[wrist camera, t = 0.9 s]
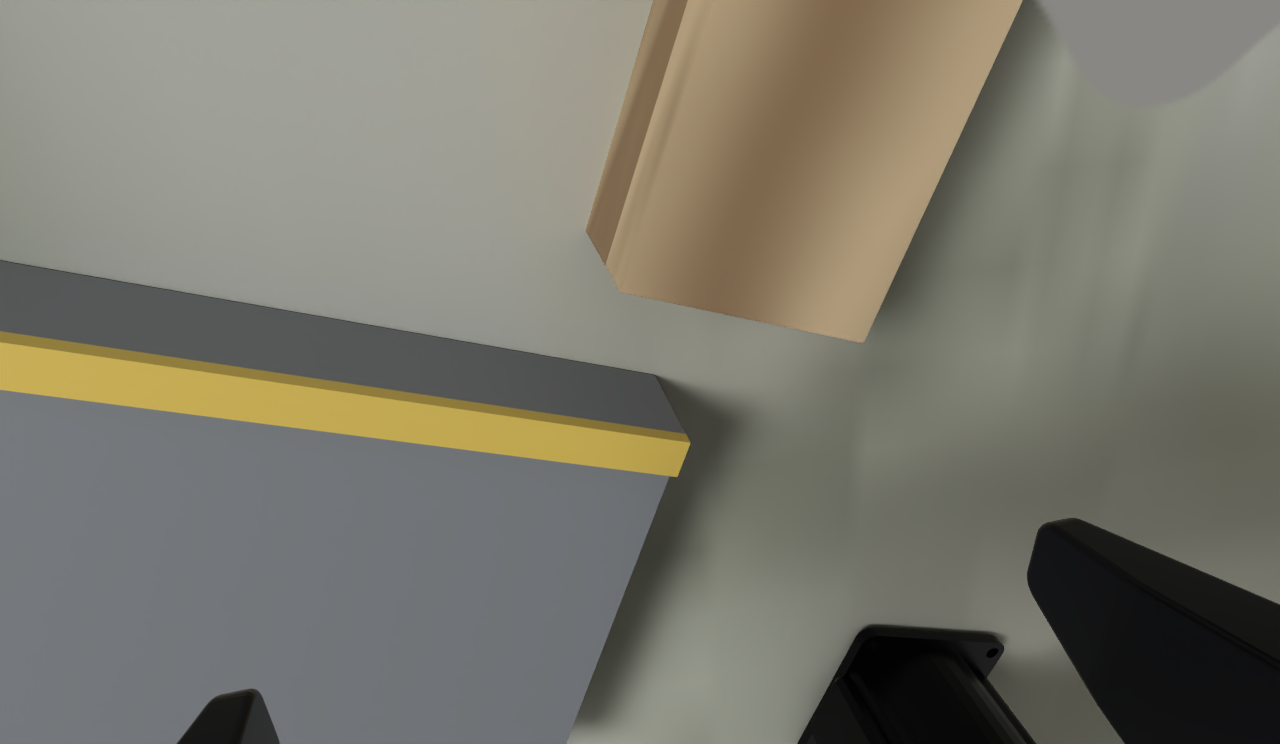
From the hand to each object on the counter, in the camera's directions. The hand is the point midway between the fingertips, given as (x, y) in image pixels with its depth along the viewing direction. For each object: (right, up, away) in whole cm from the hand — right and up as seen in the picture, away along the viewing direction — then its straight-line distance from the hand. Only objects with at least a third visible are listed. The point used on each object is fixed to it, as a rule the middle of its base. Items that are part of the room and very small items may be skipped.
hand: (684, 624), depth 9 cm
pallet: (+2, +10, +10) cm, 15 cm away
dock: (-9, -2, +13) cm, 16 cm away
